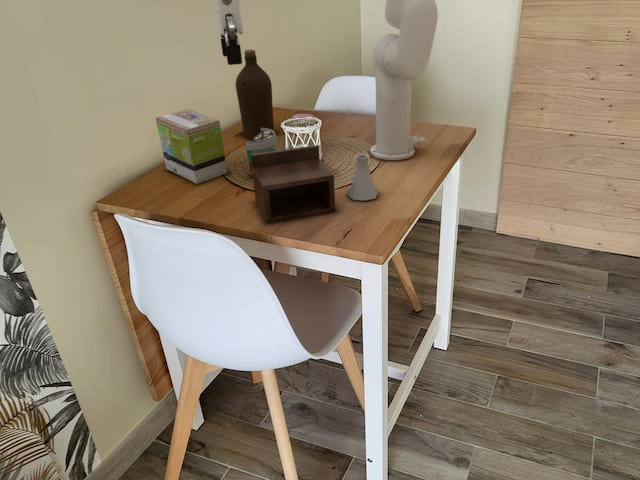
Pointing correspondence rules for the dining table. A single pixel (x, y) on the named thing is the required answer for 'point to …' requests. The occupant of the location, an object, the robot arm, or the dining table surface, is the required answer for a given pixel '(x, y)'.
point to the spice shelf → (292, 184)
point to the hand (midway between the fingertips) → (232, 59)
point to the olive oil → (254, 97)
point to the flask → (362, 181)
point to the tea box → (192, 145)
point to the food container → (261, 144)
